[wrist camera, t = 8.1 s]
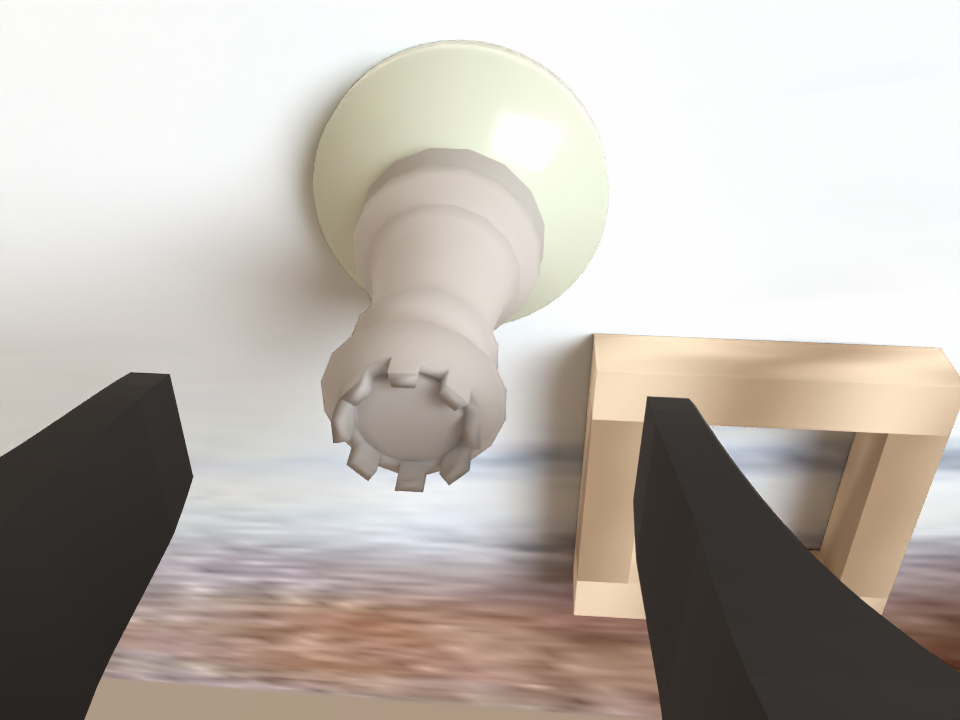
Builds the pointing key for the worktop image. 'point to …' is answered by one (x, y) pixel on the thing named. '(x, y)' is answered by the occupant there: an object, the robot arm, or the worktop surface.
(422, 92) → the coaster
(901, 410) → the pocket block
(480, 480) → the worktop surface
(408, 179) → the rook chess piece
